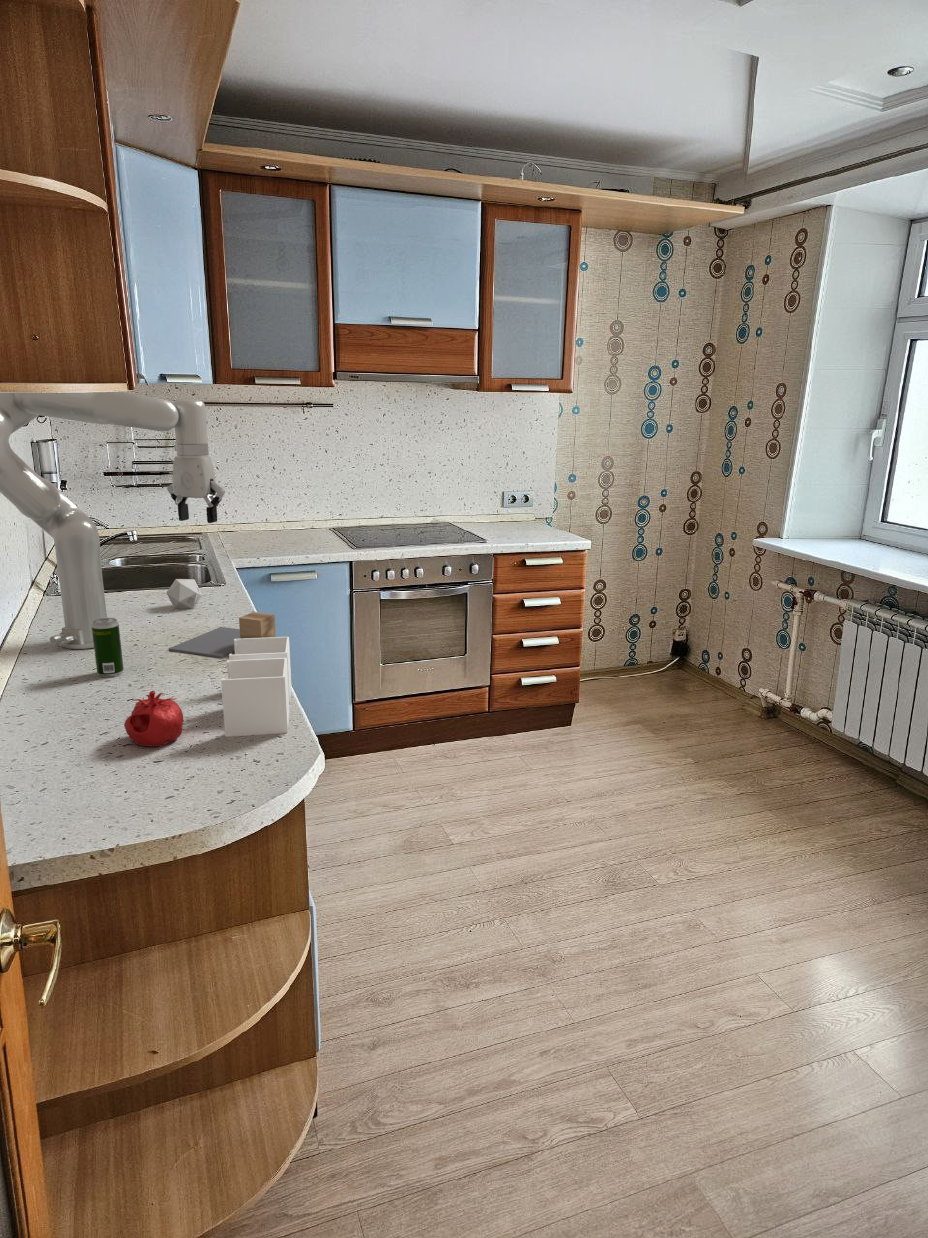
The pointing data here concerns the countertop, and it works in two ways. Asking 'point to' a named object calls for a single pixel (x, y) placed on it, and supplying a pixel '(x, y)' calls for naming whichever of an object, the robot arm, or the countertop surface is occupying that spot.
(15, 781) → the countertop surface
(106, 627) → the beer can
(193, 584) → the die
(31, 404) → the robot arm
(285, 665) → the storage container
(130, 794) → the countertop surface
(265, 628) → the block
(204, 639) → the mat
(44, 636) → the countertop surface
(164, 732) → the pomegranate
